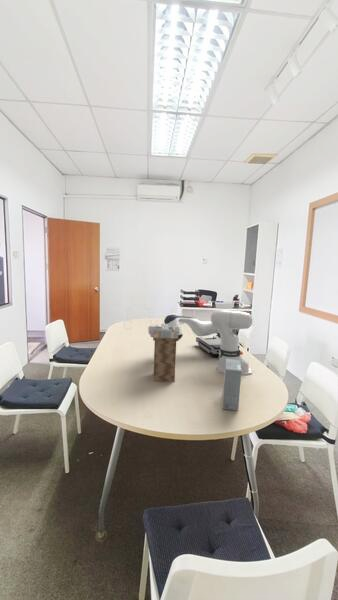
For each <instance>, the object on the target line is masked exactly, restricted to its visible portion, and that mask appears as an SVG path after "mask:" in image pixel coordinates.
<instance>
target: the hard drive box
mask: <svg viewBox="0 0 338 600" xmlns="http://www.w3.org/2000/svg"><path fill="white" fill-rule="evenodd" d="M241 372H242V371H241V364H240V360H232V359H225V372H224V373H223V374H224V375H223V387H222V388H223V389H222V402H221V403H222V404H221V409H223V410H231V411H235V412H238V411H239V404H240V403H239V402H240V394H241V382H242V375H241Z"/></svg>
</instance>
